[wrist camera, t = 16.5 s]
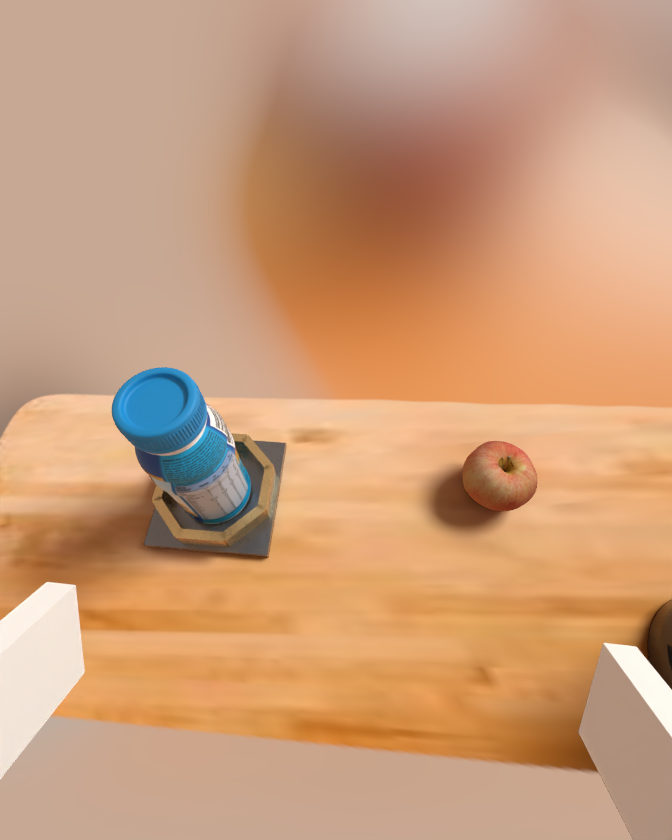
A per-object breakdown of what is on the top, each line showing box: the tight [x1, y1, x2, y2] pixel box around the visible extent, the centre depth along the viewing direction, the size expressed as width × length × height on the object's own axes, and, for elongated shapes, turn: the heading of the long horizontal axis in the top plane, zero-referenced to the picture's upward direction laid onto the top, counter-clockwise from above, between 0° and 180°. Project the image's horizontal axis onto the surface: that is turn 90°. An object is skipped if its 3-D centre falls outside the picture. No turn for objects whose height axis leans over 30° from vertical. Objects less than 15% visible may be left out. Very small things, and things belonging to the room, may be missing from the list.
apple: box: [463, 441, 537, 511], centre depth 47 cm, size 8×8×8 cm
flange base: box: [144, 434, 286, 557], centre depth 49 cm, size 14×14×4 cm
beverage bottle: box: [112, 368, 251, 524], centre depth 40 cm, size 8×8×20 cm
